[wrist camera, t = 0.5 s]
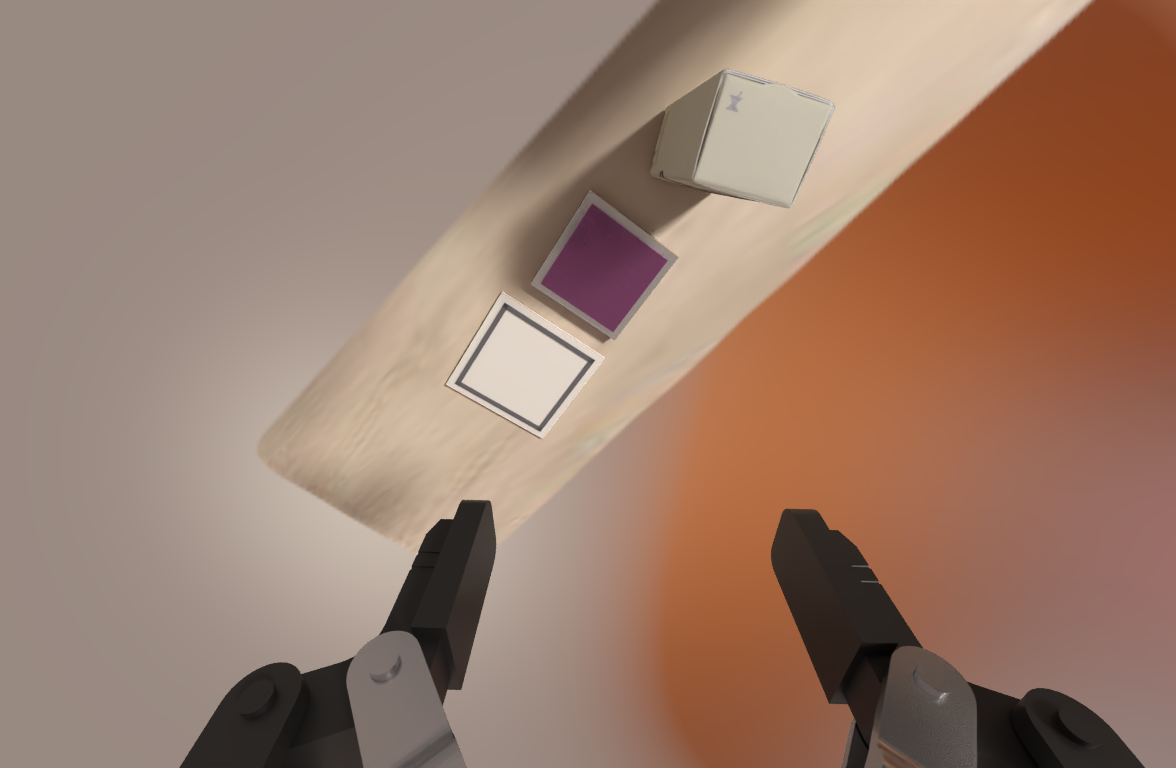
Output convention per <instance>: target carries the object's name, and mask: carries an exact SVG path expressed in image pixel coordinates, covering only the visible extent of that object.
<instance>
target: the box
mask: <svg viewBox="0 0 1176 768" xmlns="http://www.w3.org/2000/svg"><path fill="white" fill-rule="evenodd" d="M834 109H835V105H834V103H833V102H832V101H830V100H828V99H825V98H822V97H819V96H817V95H814V94H811V93H808V92H805V91H802V90H798V89H796V88H793V87H790V86H787V85H784V84H780V83H777V82H773V81H770V80H766V79H763V78H760V77H756V76H752V75H749V74H745V73H741V72H738V71H734V70H731V69H724V70H722V71H721V72H719V73H718V74H717V75H715V76H713V77H712V78H711V79H709V80H707V81H706V82H704V83H703V84H701V85H700V86H698V87H697V88H695V89H694V90H692V91H691V92H689V93H688V94H686V95H685V96H683V97H682V98H680V99H679V100H677V101H676V102H674V103H673V104H671V105H670V106H668V107H667V108H666V111H665V115H664V119H663V122H662V126H661V129H660V133H659V137H658V140H657V144H656V148H655V152H654V156H653V160H652V165H651V169H650V175H651V176H652V177H655V178H659V179H662V180H665V181H668V182H672V183H675V184H679V185H682V186H685V187H690V188H694V189H698V190H702V191H706V192H710V193H714V194H719V195H724V196H730V197H734V198H740V199H745V200H751V201H757V202H762V203H766V204H771V205H775V206H780V207H784V208H790V207H791V206H792V205H793V203H794V201H795V198H796V196H797V194H798V191H799V189H800V187H801V185H802V183H803V181H804V179H805V176H806V174H807V172H808V169H809V167H810V165H811V163H812V161H813V159H814V156H815V154H816V152H817V150H818V147H819V145H820V143H821V140H822V138H823V135H824V133H825V131H826V128H827V126H828V123H829V121H830V119H831V116H832V114H833V111H834Z"/></svg>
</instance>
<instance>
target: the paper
mask: <svg viewBox="0 0 1176 768" xmlns="http://www.w3.org/2000/svg"><path fill="white" fill-rule="evenodd" d="M604 359H605V357H604V356H602V355H601V354H599V353H598V352H596V351H595V350H593V349H591V348H590V347H588V346H587V345H585V344H584V343H582V342H581V341H579V340H578V339H576V338H574V337H573V336H571V335H570V334H568V333H567V332H565V331H564V330H562V329H560V328H559V327H557V326H556V325H554V324H553V323H551V322H550V321H548V320H547V319H545V318H543V317H542V316H540V315H539V314H537V313H536V312H534V311H533V310H531V309H530V308H528V307H526V306H525V305H523V304H522V303H520V302H519V301H517V300H516V299H514V298H512V297H511V296H509V295H508V294H506V293H505V292H503V291H502V293H501V295H500V296H499V298H498V299H497V301H496V303H495V304H494V306H493V308H492V309H491V311H490V313H489V314H488V316H487V318H486V319H485V321H484V323H483V324H482V326H481V327H480V329H479V331H478V332H477V334H476V336H475V337H474V339H473V341H472V342H471V344H470V346H469V347H468V349H467V351H466V352H465V354H464V355H463V357H462V359H461V360H460V362H459V364H458V365H457V367H456V369H455V370H454V372H453V374H452V375H451V377H450V379H449V380H448V382H447V383H446V385H447V386H449V387H451V388H453V389H454V390H456V391H458V392H460V393H462V394H463V395H465V396H467V397H469V398H471V399H472V400H474V401H476V402H478V403H480V404H481V405H483V406H485V407H487V408H488V409H490V410H492V411H494V412H496V413H497V414H499V415H501V416H503V417H505V418H506V419H508V420H510V421H512V422H513V423H515V424H517V425H519V426H521V427H522V428H524V429H526V430H528V431H530V432H531V433H533V434H535V435H537V436H539V437H540V438H542V439H543V438H544V436H545V435H546V434H547V433H548V431H549V430H550V429H551V427H552V426H553V425H554V424H555V422H556V421H557V420H558V418H559V417H560V416H561V414H562V413H563V412H564V411H565V409H566V408H567V407H568V405H569V404H570V403H571V402H572V400H573V399H574V398H575V396H576V395H577V394H578V393H579V391H580V390H581V389H582V387H583V386H584V385H585V384H586V382H587V381H588V380H589V378H590V377H591V376H592V375H593V373H594V372H595V371H596V369H597V368H598V367H599V366H600V364H601V363H602V362H603V360H604Z"/></svg>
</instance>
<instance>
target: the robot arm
mask: <svg viewBox="0 0 1176 768" xmlns="http://www.w3.org/2000/svg"><path fill="white" fill-rule="evenodd" d="M495 553H496V536H495V528H494V521H493V513H492V506H491V502H490V501H489V500H462V501H461V502H460V504H459V507H458V509H457V512H456V514H455V517H454V519H441V520H440V521H439V522H438V523H437V524H436V525H435V526H434V527H433V528H432V529H431V530H430V531H429V532H428V533H427V534H426V536H425V538H424V540H423V543H422V545H421V547H420V549H419V551H418V555H417V556H416V558H415V560H414V562H413V565H412V569H411V570H410V571H409V573H408V576H407V578H406V580H405V582H404V584H403V587H402V589H401V591H400V593H399V595H398V598H397V600H396V602H395V604H394V606H393V609H392V611H391V613H390V615H389V617H388V620H387V622H386V624H385V626H384V628H383V630H382V631H381V633H380V634H379V636H377V637H375V638H374V639H372V640H371V641H369V642H368V643H367V644H365V645H364V646H363V647H362V648H361V649H360V650H359V652H358V653H357V654H356V656H354V657H352V658H350V659H348V660H346V661H343V662H341V663H337V664H334V665H331V666H327V667H324V668H320V669H317V670H314V671H310V672H307V673H304V674H300V671H299V670H298V669H297V668H296V667H295V666H294V665H292V664H289V663H282V662H281V663H273V664H269V665H266V666H264V667H262V668H259V669H257V670H255V671H253V672H252V673H250V674H249V675H247V676H246V677H244V678H243V679H242V680H241V681H239V682H238V683H237V684H236V685H235V686H234V687H233V688H232V689H231V690H230V691H229V692H228V694H227V695H226V696H225V698H224V699H223V700H222V702H221V703H220V705H219V706H218V708H217V709H216V711H215V712H214V714H213V716H212V717H211V719H210V720H209V722H208V724H207V725H206V727H205V728H204V730H203V731H202V733H201V735H200V736H199V738H198V739H197V741H196V742H195V744H194V746H193V747H192V749H191V750H190V752H189V754H188V755H187V757H186V758H185V760H184V761H183V763H182V765H181V766H180V768H467V767H466V765H465V762H464V759H463V756H462V754H461V751H460V748H459V746H458V744H457V741H456V738H455V736H454V734H453V733H452V730H451V728H450V725H449V722H448V720H447V717H446V714H445V712H444V709H443V703H444V699H445V696H446V692H447V689H449V690H461V688H462V684H463V681H464V677H465V673H466V669H467V665H468V661H469V657H470V654H471V649H472V646H473V642H474V638H475V634H476V630H477V626H478V623H479V619H480V615H481V610H482V607H483V603H484V599H485V595H486V591H487V587H488V583H489V580H490V576H491V572H492V568H493V564H494V560H495ZM771 560H772V566H773V569H774V572H775V575H776V577H777V579H778V582H779V584H780V587H781V589H782V591H783V594H784V596H785V599H786V601H787V603H788V606H789V608H790V611H791V613H792V615H793V617H794V620H795V623H796V625H797V627H798V630H799V632H800V634H801V637H802V639H803V642H804V644H805V647H806V649H807V651H808V654H809V656H810V658H811V661H812V663H813V666H814V668H815V671H816V673H817V675H818V678H819V680H820V683H821V685H822V687H823V690H824V692H825V695H826V697H827V699H828V702H829V704H848V705H849V707H850V709H851V712H852V714H853V716H854V718H853V720H852V722H851V725H850V729H849V734H848V739H847V743H846V748H845V753H844V757H843V762H842V766H841V768H1145V767H1144V766H1143V765H1142V764H1141V762H1140V761H1139V760H1138V759H1137V758H1136V756H1135V755H1134V754H1133V753H1132V752H1131V750H1130V749H1129V748H1128V747H1127V746H1126V745H1125V743H1124V742H1123V741H1122V740H1121V739H1120V737H1119V736H1118V735H1117V734H1116V733H1115V732H1114V731H1113V729H1112V728H1111V727H1110V726H1109V725H1108V724H1107V723H1106V722H1104V720H1102V719H1101V718H1100V717H1099V716H1098V715H1097V714H1095V713H1094V712H1093V711H1091V710H1090V709H1089V708H1087V707H1086V706H1084V705H1083V704H1081V703H1079V702H1078V701H1076V700H1074V699H1073V698H1070V697H1069V696H1067V695H1064V694H1062V693H1060V692H1057V691H1053V690H1050V689H1045V688H1036V689H1032V690H1030V691H1029V692H1027V694H1026V695H1025V696H1024V697H1023V698H1022V699H1021V700H1020V699H1017V698H1014V697H1011V696H1008V695H1004V694H1002V693H999V692H996V691H993V690H989V689H987V688H984V687H981V686H978V685H975V684H972V683H969V682H967V681H966V680H965V679H964V678H963V676H962V675H961V674H960V673H959V672H958V671H957V670H956V669H955V668H954V667H953V666H952V665H951V664H949V663H948V662H947V661H945V660H944V659H943V658H941V657H939V656H938V655H936V654H934V653H932V652H930V651H928V650H926V649H923V647H922V646H921V644H920V643H919V642H918V640H917V639H916V637H915V636H914V634H913V633H912V631H911V629H910V628H909V626H908V625H907V623H906V622H905V620H904V619H903V617H902V616H901V614H900V613H899V611H898V609H897V608H896V606H895V605H894V603H893V602H892V600H891V599H890V597H889V596H888V594H887V593H886V591H885V590H884V588H883V586H882V585H881V584H879V583H878V579H877V577H876V576H875V574H874V573H873V571H872V570H871V569H869V567H868V563H867V562H866V560H865V559H864V557H863V556H862V554H861V553H860V551H859V550H858V548H857V547H856V546H855V545H854V544H853V543H852V542H851V541H850V540H849V539H847V538H846V537H845V536H844V535H843V534H842V533H840V532H839V531H838V530H829V528H828V526H827V525H826V523H825V522H824V520H823V518H822V517H821V515H820V514H819V513H818V511H816V510H813V509H785V510H784V511H783V513H782V516H781V519H780V522H779V525H778V529H777V532H776V535H775V538H774V541H773V545H772V549H771Z"/></svg>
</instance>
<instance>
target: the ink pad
mask: <svg viewBox="0 0 1176 768" xmlns="http://www.w3.org/2000/svg"><path fill="white" fill-rule="evenodd" d="M677 259H678V256H677V255H675V254H674V253H673V252H672V251H670V250H669V249H668V248H666V247H665V246H664V245H662V244H661V243H660V242H658V241H657V240H656V239H654V238H653V237H652V236H651V235H649V234H648V233H647V232H645V231H644V230H643V229H641V228H640V227H639V226H637V225H636V224H635V223H633V222H632V221H631V220H630V219H628V218H627V217H626V216H624V215H623V214H622V213H620V212H619V211H618V210H616V209H615V208H614V207H612V206H611V205H610V204H608V203H607V202H606V201H605V200H603V199H602V198H601V197H599V196H598V195H597V194H595V193H594V192H593V191H591V190H589V192H588V193H587V195H586V196H585V198H584V200H583V201H582V203H581V204H580V206H579V207H578V209H577V211H576V212H575V214H574V215H573V217H572V219H571V220H570V222H569V223H568V225H567V226H566V228H565V230H564V231H563V233H562V234H561V236H560V238H559V239H558V241H557V242H556V244H555V245H554V247H553V249H552V250H551V252H550V253H549V255H548V257H547V258H546V260H545V261H544V263H543V264H542V266H541V268H540V269H539V271H538V272H537V274H536V275H535V277H534V279H533V280H532V282H531V284H530V285H532V286H533V287H535V288H536V289H538V290H539V291H541V292H542V293H544V294H545V295H547V296H548V297H550V298H551V299H553V300H555V301H556V302H558V303H559V304H561V305H562V306H564V307H565V308H567V309H568V310H570V311H571V312H573V313H574V314H576V315H577V316H579V317H580V318H582V319H583V320H585V321H586V322H588V323H589V324H591V325H592V326H594V327H595V328H597V329H598V330H600V331H601V332H603V333H604V334H606V335H607V336H609V337H610V338H612V339H613V340H615V339H616V338H617V336H618V335H619V334H620V333H621V331H622V330H623V329H624V327H625V326H626V325H627V324H628V322H629V321H630V320H631V318H632V317H633V316H634V314H635V313H636V312H637V311H638V309H639V308H640V307H641V305H642V304H643V303H644V301H645V300H646V299H647V298H648V296H649V295H650V294H651V292H652V291H653V290H654V288H655V287H656V286H657V285H658V283H659V282H660V281H661V279H662V278H663V277H664V276H665V274H666V273H667V272H668V270H669V269H670V268H671V266H672V265H673V264H674V263H675V261H676V260H677Z"/></svg>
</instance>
